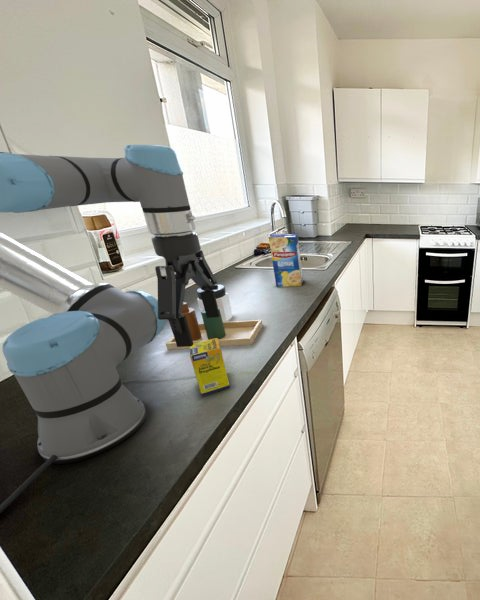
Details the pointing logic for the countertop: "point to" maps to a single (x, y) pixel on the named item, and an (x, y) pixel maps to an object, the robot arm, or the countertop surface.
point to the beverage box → (286, 259)
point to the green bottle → (213, 326)
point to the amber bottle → (191, 321)
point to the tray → (228, 334)
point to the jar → (218, 302)
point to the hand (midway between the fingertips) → (200, 330)
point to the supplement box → (209, 366)
